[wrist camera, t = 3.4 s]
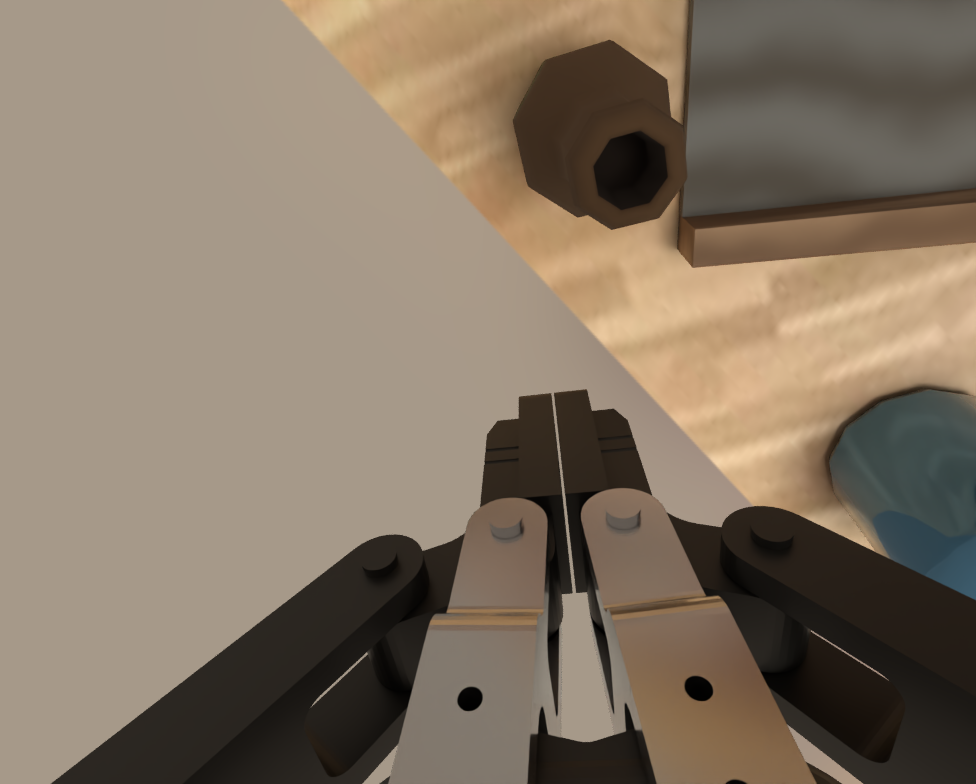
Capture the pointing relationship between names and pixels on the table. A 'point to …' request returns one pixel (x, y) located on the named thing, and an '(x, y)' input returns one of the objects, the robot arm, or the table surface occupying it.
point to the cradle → (827, 128)
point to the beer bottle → (601, 136)
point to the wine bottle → (914, 483)
